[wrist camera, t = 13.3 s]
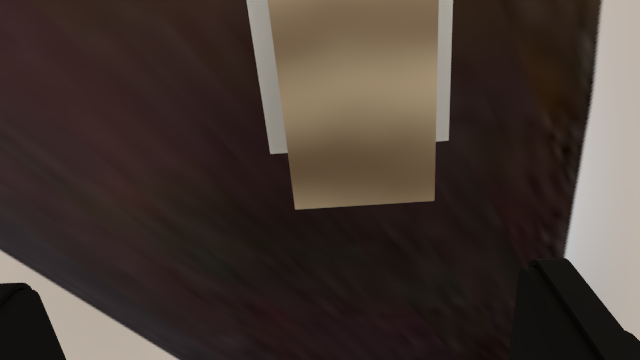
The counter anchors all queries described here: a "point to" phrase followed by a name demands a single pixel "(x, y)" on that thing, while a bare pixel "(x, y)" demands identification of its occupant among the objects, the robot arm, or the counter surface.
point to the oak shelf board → (358, 99)
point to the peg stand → (270, 85)
